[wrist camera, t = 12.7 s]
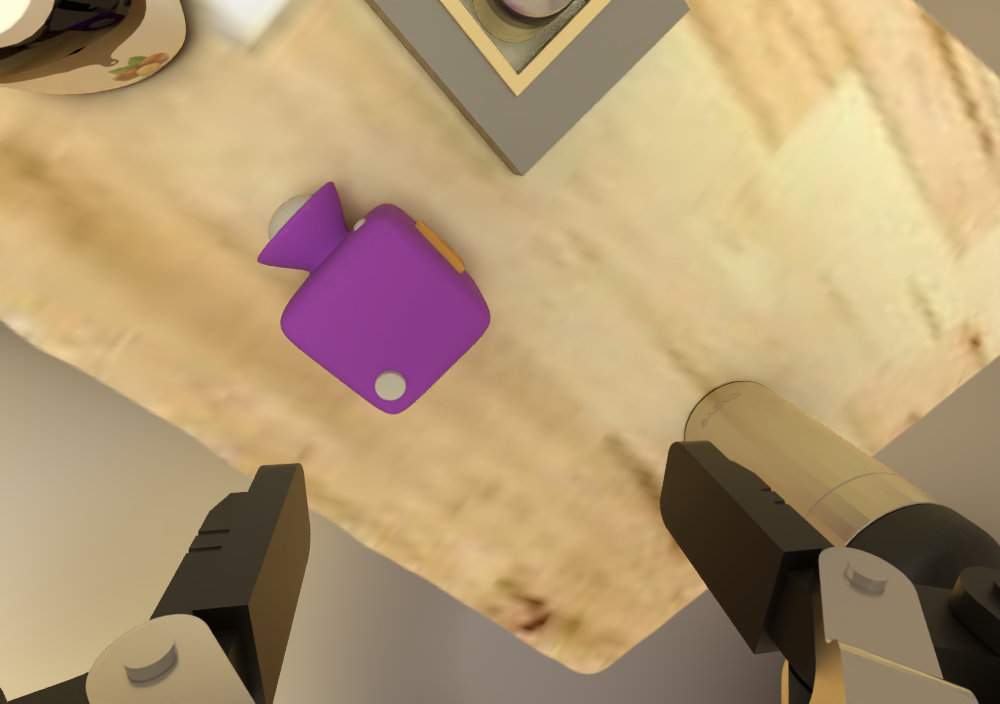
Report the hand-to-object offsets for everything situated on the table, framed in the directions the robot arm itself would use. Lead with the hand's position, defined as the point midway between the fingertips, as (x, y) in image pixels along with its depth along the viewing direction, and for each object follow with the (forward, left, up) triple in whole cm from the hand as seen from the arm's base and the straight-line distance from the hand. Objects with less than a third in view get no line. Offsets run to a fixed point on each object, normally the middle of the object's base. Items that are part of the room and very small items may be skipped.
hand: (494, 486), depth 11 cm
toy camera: (+2, +4, -28) cm, 29 cm away
